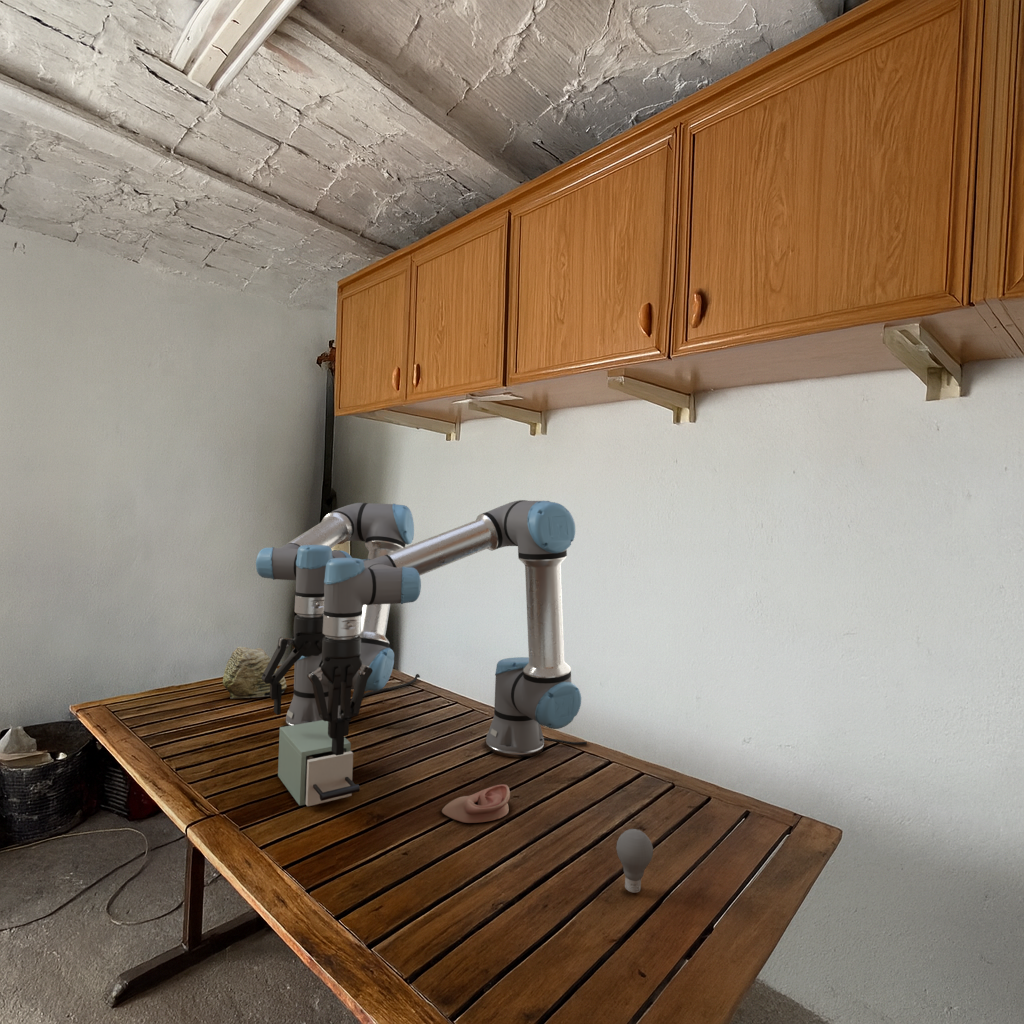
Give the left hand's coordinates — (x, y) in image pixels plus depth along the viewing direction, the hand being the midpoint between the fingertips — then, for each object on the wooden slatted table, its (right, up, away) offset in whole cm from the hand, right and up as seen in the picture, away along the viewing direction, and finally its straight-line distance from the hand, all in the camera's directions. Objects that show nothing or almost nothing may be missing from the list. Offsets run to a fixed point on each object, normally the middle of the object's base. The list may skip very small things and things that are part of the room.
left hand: (308, 708), depth 142 cm
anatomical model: (+38, -18, -12) cm, 44 cm away
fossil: (-35, -13, +56) cm, 67 cm away
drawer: (+6, -15, -9) cm, 18 cm away
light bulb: (+66, -19, -37) cm, 78 cm away
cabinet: (+2, -16, -3) cm, 16 cm away
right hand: (+11, -4, -15) cm, 19 cm away
